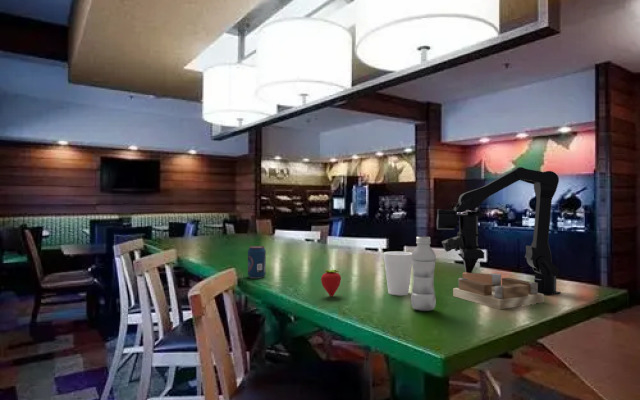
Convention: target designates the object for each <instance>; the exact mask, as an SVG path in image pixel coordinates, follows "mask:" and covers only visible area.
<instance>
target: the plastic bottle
mask: <svg viewBox="0 0 640 400" xmlns="http://www.w3.org/2000/svg"><path fill="white" fill-rule="evenodd" d="M415 240H416V242H415V243H416V247H415V248H414V249H413V251H412V252H411V253H412V256H411V257H412V275H413V276H412V277H413V278H412V281H413V282H412V292H411V294H410V303H411V307H412V308H413V309H414V310H416V311H420V312H426V311H427V312H429V311H433V310H434V309H435V308H436V303H437V302H436V301H437V299H436V294H435V285H434V284H435V283H434V279H435V277H434V276H435V266H436V259H437V257H436V256H437V255H436V253H435V251H434V250H433V248H432V247H431V246H430V245H431V243H432V242H431V237H430V236H416V239H415Z"/></svg>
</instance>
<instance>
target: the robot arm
mask: <svg viewBox="0 0 640 400" xmlns="http://www.w3.org/2000/svg"><path fill="white" fill-rule="evenodd" d="M559 178H560V177H559V175H558V174H557V173H556V172H555V171H553V170H546V171H540V170H536V169H535V170H534V169H528V168H525V167H523V166H519V167H516V168H513V169H512V170H511V171H510V172H507V173H506V174H504V175H502V176H500V177H499V178H496V179H494V180H493V181H491V182H489V183H487V184H485V185H484V186H482V187H479V188H476V189H472V190H469V191H466V192H464V193H462V194H460V195H459V198H458V203H457V204H456V205H455V207H454V208H453V209H437V214H436V230H455V228H456V227H459V231H458V232H457V236H454V237H450V238H447V239H444V240H442V241H441V245H442V246H443V247H442V248H443V249H444V251H445V252H446V253H447V252H450V251H452V250H454V251H455V252H458V251H459V253H457V255H458V257H460V258H461V259H462V262H463V265H464V270H465V272H467V273H473V270H474V268H475V267H476V264H477V262H478V260H480V259H481V260H482V259H483V260H484V259H485V252H484V251H483V250H482V249H480V248H479V247H480V246H479V244H478V237H479V236H480V233H479V232H478V217H484V216H485V215H484V213H482V211H480V209H478V208H477V207H478V206H480V205H481V204H482V203H484V202H485V201H486V200H487V199H488V198H489V197H490V196H493V195H494V194H496V193H498V192H500V191H501V190H504V189H505V188H507V187H509V186H511V185H513V184H515V183H516V182H517V183H518V182H519V181H521V182H524V183H526V184H527V183H528V184H532V185H533V190H534V193H535V197H536V203H535V215H534V226H533V227H534V229H533V237H532V242H531V244H530V245H525V255H524V258H525V259H526V262H527V264H528V266H530V267H531V268H532V270H533V272H534V279H533V280H534V281H533V282H536V283H538V293H540V294H544V296H545V295H546V296H551V295H552V296H553V295H559V294H561V293H562V292H561V291H557V277H558V276H559V274H560V272H561V270H560V269H559V268H558V266H556V265H555V264H554V262H553V261H552V260H553V259H552V251H551V247H550V245H549V235H550V226H551V216H552V215H551V213H552V201H553V198H554V196H555V193H556V192H557V189H558V185H559V184H560V183H559V182H560V179H559ZM476 208H477V209H476ZM473 209H475V210H473ZM470 210H471V211H470ZM464 212H465V213H464ZM457 213H458V214H457ZM460 213H461V214H460ZM463 213H464V214H463Z"/></svg>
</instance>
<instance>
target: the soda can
mask: <svg viewBox="0 0 640 400" xmlns="http://www.w3.org/2000/svg"><path fill="white" fill-rule="evenodd" d="M266 256H267V253H266V249H265V246H263V245H252V246H249V247H248V250H247V275H248V277H249V278H250V279H262V277H263V278H264V277H265V276H266V274H267V272H266V271H267V269H266V262H267V260H266V258H267V257H266Z"/></svg>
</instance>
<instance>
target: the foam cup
mask: <svg viewBox="0 0 640 400" xmlns="http://www.w3.org/2000/svg"><path fill="white" fill-rule="evenodd" d="M412 253H413V252H410V251H385V252H383V262H384V269H385V276H386V284H387V292H388V294H389V295H393V296H407V295H408V294H409V292H410V284H411V277H412V271H413V266H412V257H411V256H412Z"/></svg>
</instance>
